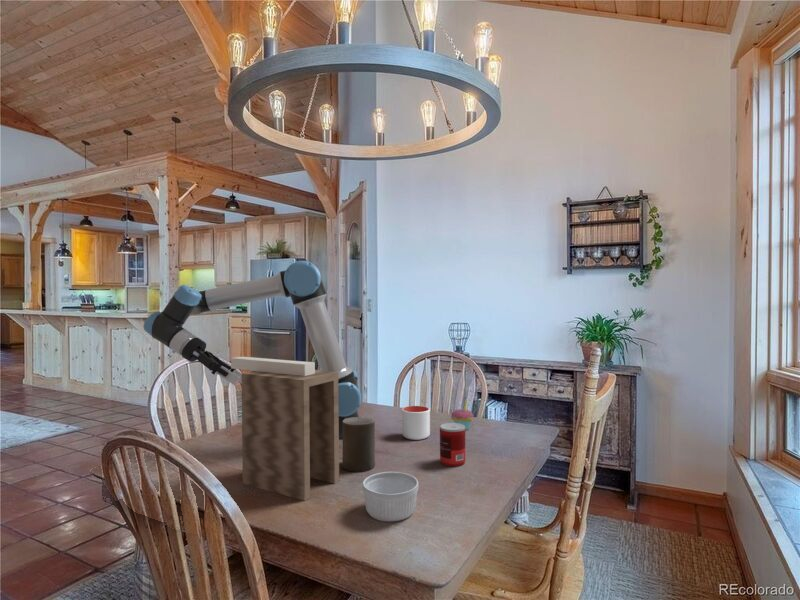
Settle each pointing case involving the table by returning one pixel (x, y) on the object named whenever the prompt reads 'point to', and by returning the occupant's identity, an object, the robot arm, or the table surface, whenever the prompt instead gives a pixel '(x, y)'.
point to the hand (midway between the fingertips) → (243, 382)
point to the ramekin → (390, 495)
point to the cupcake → (462, 416)
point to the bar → (273, 365)
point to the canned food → (452, 444)
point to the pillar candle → (358, 444)
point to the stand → (290, 431)
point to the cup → (416, 422)
